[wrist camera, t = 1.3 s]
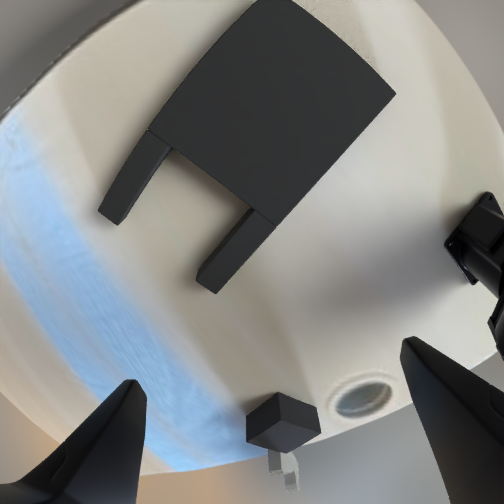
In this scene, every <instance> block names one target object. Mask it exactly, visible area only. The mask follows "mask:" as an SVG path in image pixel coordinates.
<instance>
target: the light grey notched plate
mask: <svg viewBox="0 0 504 504" xmlns="http://www.w3.org/2000/svg"><path fill="white" fill-rule="evenodd" d="M268 457H269V472H270V473H271V475H274V474H278V475H281V474H284V475H285V487H286V490H287V491H288V492H290V493H292V492H296V491H298V490H300V486H299V474H298V468H299V467H298V463H297V460H296V458H295V456H294V454H293V452H292V451H291V452H289V453H287V454H285V453H281V452H277V451H274V450H270V449H268Z"/></svg>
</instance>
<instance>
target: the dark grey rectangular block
mask: <svg viewBox="0 0 504 504" xmlns="http://www.w3.org/2000/svg"><path fill="white" fill-rule="evenodd" d="M319 434H321V428H320V423H319V418H318V413H317V408H316V407H314V406H311V405H309V404H306V403H304V402H301V401H299V400H296V399H294V398H291V397H289V396H286V395H284V394H281V393H279V392H278V393H276V394H275V395H274V396H272V397H271V398H270V399H269V400H267V401H266V402H265V403H263V404H262V405H261V406H259V407H258V408H257V409H255V410H254V411H253V412H251V413H250V414H249V415H247V416H246V442H247V443H250V444H253V445H256V446H260V447H263V448H267V449H270V450H274V451H277V452H281V453H285V454H287V453H289V452H291V451H292V450H294V449H296V448H297V447H299V446H301V445H303V444H304V443H306V442H308V441H309V440H311V439H313V438H314V437H316V436H318V435H319Z"/></svg>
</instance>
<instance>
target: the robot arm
mask: <svg viewBox="0 0 504 504" xmlns="http://www.w3.org/2000/svg"><path fill="white" fill-rule="evenodd" d="M488 197H489V199H488ZM450 243H451V245H450ZM449 245H450V246H449ZM444 247H445V249H446V250H447V252H448V253H449V254H450V256H451V257H452V259H453V260H454V261H455V263H456V264H457V266H458V267H459V269H460V270H461V272H462V273H463V275H464V276H465V278H466V279H467V281H468V282H469V283H470V284H471V285H475V284H476V283H477V282H478V281H480V282H481V283H482V284H483V285H484V286H485V287H487V288H488V289H489V290H490V291H491V292H492V293H493V294H494V295H495V296H496V297H497V298H498V299H499V300H498V302H497V304H496V307H495V309H494V311H493V313H492V316H490V318H489V320H488V322H487V323H488V325H489V328H490V330H491V332H492V335H493V337H494V339H495V342H496V347H497V350H498V352H499V353H500V355H501V357H502V359H503V360H504V215H503V213H502V211H501V209H500V207H499V205H498V203H497V201H496V199H495V197H494V195H493V194H492V193H491V192H488V191H487V192H486V193H485V194H484V195H483V196H482V198H481V199H480V200H479V201H478V203H477V204H476V205H475V206H474V208H473V209H472V210H471V211H470V213H469V214H468V215H467V216H466V218H465V219H464V220H463V221H462V222H461V224H460V225H459V226H458V227H457V228H456V229H455V231H454V232H453V233H452V234H451V235H450V236H449V238H448V239H447V240H446V241H445V243H444ZM400 361H401V365H402V368H403V371H404V374H405V378H406V381H407V384H408V388H409V391H410V394H411V398H412V401H413V403H414V405H415V408H416V410H417V413H418V415H419V417H420V420H421V422H422V425H423V427H424V430H425V432H426V435H427V437H428V440H429V443H430V445H431V448H432V451H433V453H434V456H435V459H436V461H437V464H438V467H439V470H440V472H441V475H442V478H443V481H444V484H445V487H446V490H447V493H448V495H449V500H450V503H451V504H504V392H502V391H500V390H499V389H497V388H496V387H494V386H493V385H490V384H489V383H488V382H486V381H485V380H483V379H482V378H480V377H478V376H477V375H475V374H474V373H472V372H471V371H469V370H468V369H466V368H465V367H463V366H462V365H460V364H458V363H457V362H455V361H454V360H452V359H451V358H449V357H447V356H446V355H444V354H443V353H441V352H440V351H438V350H436V349H435V348H433V347H432V346H430V345H429V344H427V343H425V342H424V341H422V340H421V339H419V338H417V337H415V336H412V337H408V338H405V339H404V340H403V342H402V348H401V354H400ZM146 407H147V397H146V394H145V392H144V390H143V389H142V387H141V386H140V384H139V383H138V381H137V380H135V379H127V380H124V381H123V382H122V383H121V384H120V385H119V386H118V387H117V388H116V389H115V390H114V391H113V392H112V393H111V394H110V395H109V396H108V397H107V398H106V399H105V400H104V401H103V402H102V403H101V404H100V405H99V406H98V407H97V408H96V410H95V411H94V412H93V413H92V414H91V415H90V416H89V417H88V418H87V419H86V420H85V421H84V422H83V423H82V424H81V425H80V426H79V427H78V428H77V429H76V430H75V431H74V432H73V433H72V434H71V435H70V436H69V437H68V438H67V439H66V440H65V441H64V442H63V443H62V444H61V445H60V446H59V447H58V448H57V449H56V450H55V451H54V452H52V453H51V454H50V455H49V456H48V457H47V458H46V459H45V460H44V461H42V462H41V463H40V464H39V465H38V466H36V467H35V468H34V469H33V470H31V471H30V472H29V473H28V474H27V475H25V476H24V477H23V478H21V479H20V480H18V481H16V482H13V483H9V484H0V504H136V497H137V489H138V481H139V473H140V466H141V459H142V452H143V446H144V439H145V426H146Z"/></svg>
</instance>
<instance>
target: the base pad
mask: <svg viewBox="0 0 504 504" xmlns="http://www.w3.org/2000/svg"><path fill="white" fill-rule="evenodd" d="M395 95H396V92H395V91H394V90H393V89H392V88H391V87H390V86H389V85H388V84H387V83H386V82H385V81H384V80H383V79H382V78H381V76H380V75H379V74H378V73H377V72H376V71H375V70H374V69H373V68H372V67H371V66H370V65H369V64H368V63H367V62H365V61H364V60H363V59H362V58H361V57H360V56H359V55H358V54H357V53H356V52H355V51H354V50H353V49H352V48H351V47H349V46H348V45H347V44H346V43H345V42H344V41H343V40H342V39H340V38H339V37H338V36H337V35H336V34H335V33H333V32H332V31H331V30H330V29H329V28H327V27H326V26H325V25H324V24H322V23H321V22H320V21H319V20H317V19H316V18H315V17H314V16H312V15H311V14H310V13H308V12H307V11H306V10H304V9H303V8H302V7H300V6H299V5H298V4H296V3H295V2H293V1H292V0H257V1H256V2H255V3H254V4H253V5H252V6H251V7H250V8H249V9H248V10H247V11H246V12H245V13H244V14H243V15H242V16H241V17H240V18H239V19H238V20H237V21H236V22H235V23H234V24H233V25H232V26H231V27H230V28H229V29H228V30H227V31H226V32H225V33H224V34H223V35H222V36H221V38H220V39H219V40H218V41H217V42H216V43H215V44H214V45H213V46H212V47H211V49H210V50H209V51H208V52H207V53H206V54H205V55H204V57H203V58H202V59H201V60H200V61H199V62H198V64H197V65H196V66H195V67H194V68H193V69H192V71H191V72H190V73H189V74H188V76H187V77H186V78H185V79H184V81H183V82H182V83H181V84H180V86H179V87H178V88H177V89H176V91H175V92H174V93H173V95H172V96H171V97H170V99H169V100H168V101H167V103H166V104H165V105H164V107H163V108H162V109H161V111H160V112H159V113H158V115H157V116H156V118H155V119H154V120H153V122H152V123H151V125H150V126H149V127H148V130H147V131H146V132H145V133H144V135H143V136H142V138H141V139H140V141H139V142H138V144H137V145H136V147H135V148H134V150H133V151H132V153H131V155H130V156H129V158H128V159H127V161H126V162H125V164H124V166H123V167H122V169H121V171H120V172H119V174H118V176H117V177H116V179H115V181H114V182H113V184H112V186H111V187H110V189H109V191H108V193H107V194H106V196H105V198H104V200H103V202H102V203H101V205H100V207H99V209H98V212H100V213H101V214H102V215H104V216H105V217H106V218H108V219H109V220H110V221H112V222H113V223H114V224H116V225H117V226H118V225H119V224H120V223H121V222H122V221H123V220H124V219H125V218H126V216H127V215H128V213H129V212H130V210H131V208H132V207H133V205H134V204H135V202H136V200H137V199H138V197H139V196H140V194H141V193H142V191H143V190H144V188H145V187H146V185H147V184H148V182H149V181H150V179H151V178H152V176H153V175H154V173H155V172H156V170H157V169H158V167H159V166H160V164H161V163H162V162H163V160H164V159H165V157H166V156H167V155H168V153H169V152H170V150H171V149H172V148H174V149H175V150H176V151H178V152H179V153H181V154H182V155H183V156H185V157H186V158H187V159H189V160H190V161H191V162H193V163H194V164H195V165H197V166H198V167H199V168H201V169H202V170H203V171H205V172H206V173H208V174H209V175H210V176H212V177H213V178H214V179H215V180H217V181H218V182H219V183H221V184H222V185H223V186H225V187H226V188H227V189H229V190H230V191H231V192H233V193H234V194H235V195H237V196H238V197H239V198H241V199H242V200H243V201H244V202H246V203H247V204H248V205H250V206H251V208H250V209H249V210H248V211H247V212H246V213H245V215H244V216H243V217H242V218H241V219H240V220H239V222H238V223H237V224H236V225H235V226H234V227H233V229H232V230H231V231H230V232H229V233H228V235H227V236H226V237H225V238H224V239H223V241H222V242H221V243H220V244H219V245H218V247H217V248H216V249H215V250H214V251H213V253H212V254H211V255H210V256H209V257H208V259H207V260H206V261H205V262H204V263H203V265H202V266H201V267H200V268H199V269H198V272H197V276H196V279H195V281H196V282H198V283H199V284H201V285H202V286H204V287H205V288H207V289H208V290H210V291H211V292H213V293H214V294H217V293H218V292H219V290H220V289H221V288H222V287H223V286H224V285H225V284H226V283H227V282H228V281H229V279H230V278H231V277H232V276H233V275H234V274H235V273H236V272H237V271H238V269H239V268H240V267H241V266H242V265H243V264H244V263H245V262H246V261H247V260H248V258H249V257H250V256H251V255H252V254H253V253H254V252H255V251H256V250H257V248H258V247H259V246H260V245H261V244H262V243H263V242H264V241H265V240H266V238H267V237H268V236H269V235H270V234H271V233H272V232H273V231H274V230H275V228H276V226H278V225H279V224H280V223H281V222H282V221H283V220H284V218H285V217H286V216H287V215H288V214H289V213H290V212H291V211H292V210H293V208H294V207H295V206H296V205H297V204H298V203H299V202H300V201H301V200H302V198H303V197H304V196H305V195H306V194H307V193H308V192H309V191H310V190H311V188H312V187H313V186H314V185H315V184H316V183H317V182H318V181H319V180H320V178H321V177H322V176H323V175H324V174H325V173H326V172H327V171H328V170H329V168H330V167H331V166H332V165H333V164H334V163H335V162H336V161H337V160H338V158H339V157H340V156H341V155H342V154H343V153H344V152H345V151H346V150H347V148H348V147H349V146H350V145H351V144H352V143H353V142H354V141H355V140H356V138H357V137H358V136H359V135H360V134H361V133H362V132H363V131H364V130H365V128H366V127H367V126H368V125H369V124H370V123H371V122H372V121H373V120H374V118H375V117H376V116H377V115H378V114H379V113H380V112H381V111H382V110H383V108H384V107H385V106H386V105H387V104H388V103H389V102H390V101H391V100H392V98H393V97H394V96H395Z"/></svg>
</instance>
